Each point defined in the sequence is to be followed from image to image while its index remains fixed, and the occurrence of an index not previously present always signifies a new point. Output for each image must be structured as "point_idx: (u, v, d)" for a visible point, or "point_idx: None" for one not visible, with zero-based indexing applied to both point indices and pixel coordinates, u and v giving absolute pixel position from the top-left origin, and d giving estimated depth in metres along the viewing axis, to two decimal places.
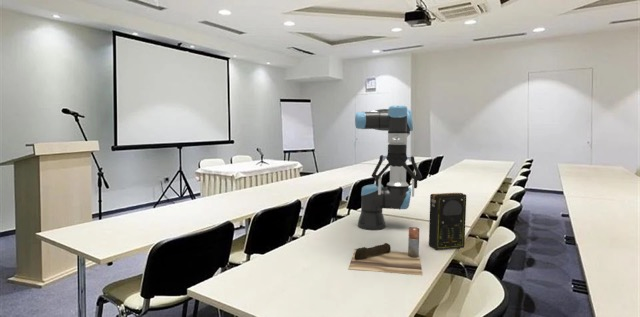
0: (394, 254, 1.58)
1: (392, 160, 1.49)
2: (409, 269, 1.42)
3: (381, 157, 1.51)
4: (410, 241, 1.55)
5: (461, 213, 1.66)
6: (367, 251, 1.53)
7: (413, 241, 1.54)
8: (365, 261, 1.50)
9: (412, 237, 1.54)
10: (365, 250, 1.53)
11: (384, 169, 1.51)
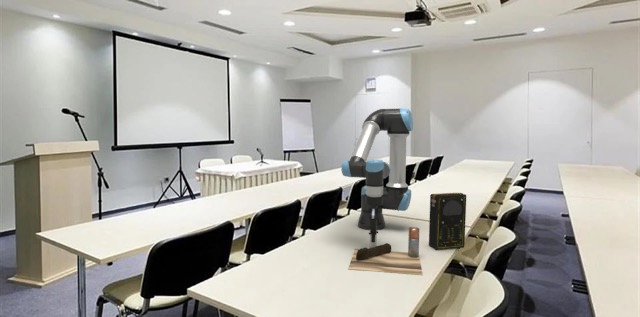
0: (394, 254, 1.58)
1: None
2: (409, 269, 1.42)
3: None
4: (410, 241, 1.55)
5: (461, 213, 1.66)
6: (368, 251, 1.53)
7: (413, 241, 1.54)
8: (365, 261, 1.50)
9: (412, 237, 1.54)
10: (367, 251, 1.52)
11: None
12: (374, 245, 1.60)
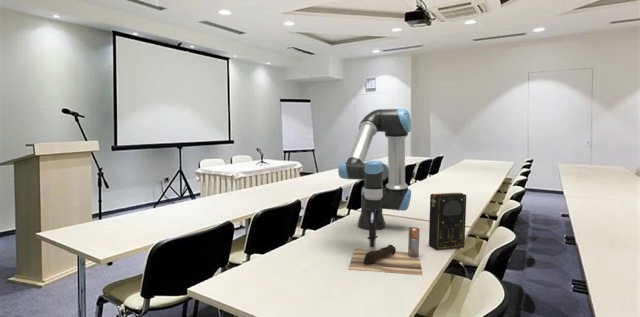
0: (394, 254, 1.58)
1: (368, 213, 1.54)
2: (409, 269, 1.42)
3: None
4: (410, 241, 1.55)
5: (461, 213, 1.66)
6: (376, 255, 1.48)
7: (413, 241, 1.54)
8: None
9: (412, 237, 1.54)
10: (375, 255, 1.48)
11: None
12: (373, 250, 1.53)
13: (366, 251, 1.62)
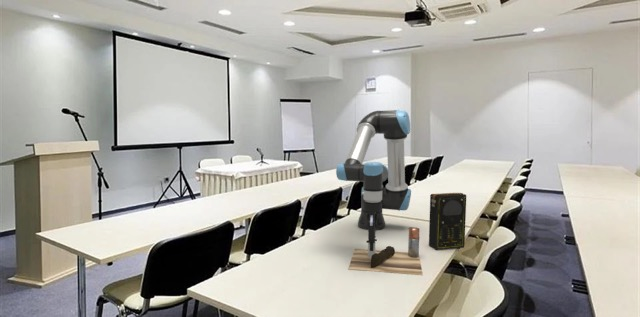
0: (394, 254, 1.58)
1: None
2: (409, 269, 1.42)
3: None
4: (410, 241, 1.55)
5: (461, 213, 1.66)
6: (380, 257, 1.47)
7: (413, 241, 1.54)
8: (365, 261, 1.50)
9: (412, 237, 1.54)
10: (379, 256, 1.46)
11: None
12: (372, 254, 1.49)
13: (366, 251, 1.62)
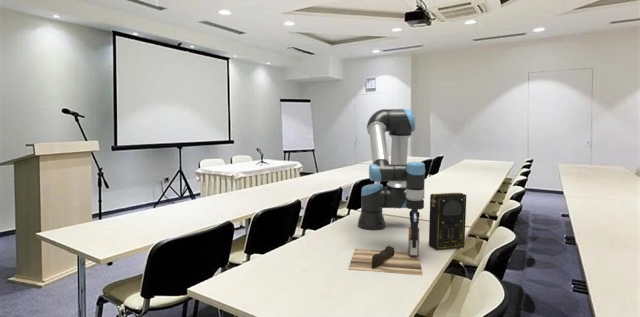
0: (394, 254, 1.58)
1: None
2: (409, 269, 1.42)
3: (410, 212, 1.61)
4: (410, 241, 1.55)
5: (461, 213, 1.66)
6: (381, 257, 1.46)
7: None
8: (365, 261, 1.50)
9: None
10: (380, 256, 1.45)
11: None
12: (415, 251, 1.54)
13: (366, 251, 1.62)
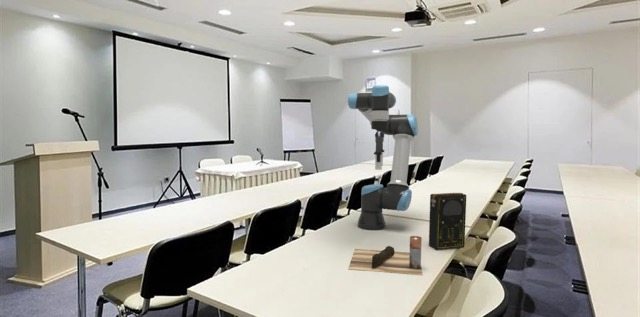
0: (394, 254, 1.58)
1: None
2: (409, 269, 1.42)
3: None
4: (411, 251, 1.42)
5: (461, 213, 1.66)
6: (381, 257, 1.46)
7: (414, 251, 1.42)
8: (365, 261, 1.50)
9: (414, 247, 1.42)
10: (380, 256, 1.45)
11: None
12: (379, 165, 1.58)
13: (366, 251, 1.62)
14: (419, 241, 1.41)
